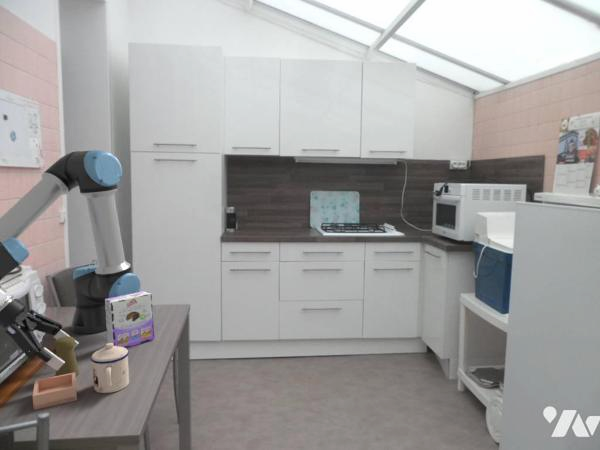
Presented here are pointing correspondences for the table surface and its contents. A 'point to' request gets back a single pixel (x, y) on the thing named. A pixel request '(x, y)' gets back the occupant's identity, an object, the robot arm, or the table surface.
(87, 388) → the table surface
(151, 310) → the candy box
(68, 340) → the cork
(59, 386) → the tray
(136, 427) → the table surface
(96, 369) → the teacup with lid
